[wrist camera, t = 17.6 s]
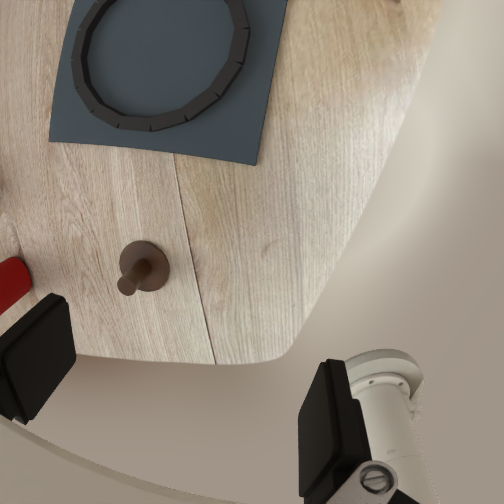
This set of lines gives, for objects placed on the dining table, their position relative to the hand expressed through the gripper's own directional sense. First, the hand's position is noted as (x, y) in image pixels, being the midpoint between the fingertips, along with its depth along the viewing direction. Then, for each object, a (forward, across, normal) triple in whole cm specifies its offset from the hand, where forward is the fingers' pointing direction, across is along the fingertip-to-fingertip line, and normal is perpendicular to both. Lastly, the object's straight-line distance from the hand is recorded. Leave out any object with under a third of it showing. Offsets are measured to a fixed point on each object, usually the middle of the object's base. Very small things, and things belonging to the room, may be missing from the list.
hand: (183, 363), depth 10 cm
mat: (+28, +14, -17) cm, 35 cm away
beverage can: (+28, +36, +18) cm, 49 cm away
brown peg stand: (+28, +12, +11) cm, 32 cm away
